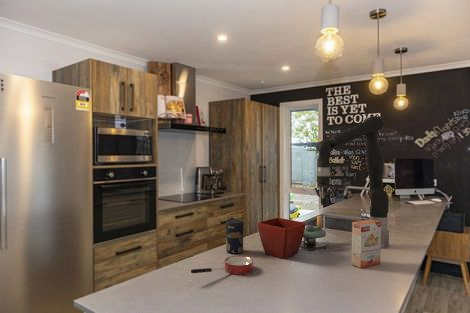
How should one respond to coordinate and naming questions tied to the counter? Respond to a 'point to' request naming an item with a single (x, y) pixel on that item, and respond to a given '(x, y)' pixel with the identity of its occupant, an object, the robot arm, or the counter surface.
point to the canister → (234, 236)
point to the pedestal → (311, 244)
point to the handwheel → (315, 230)
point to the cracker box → (366, 243)
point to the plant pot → (281, 236)
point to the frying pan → (232, 266)
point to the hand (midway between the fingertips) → (323, 204)
